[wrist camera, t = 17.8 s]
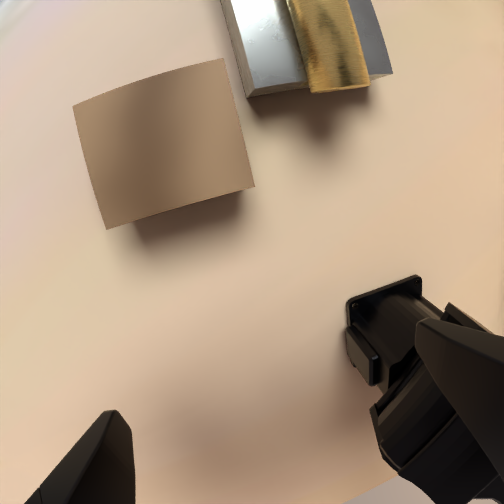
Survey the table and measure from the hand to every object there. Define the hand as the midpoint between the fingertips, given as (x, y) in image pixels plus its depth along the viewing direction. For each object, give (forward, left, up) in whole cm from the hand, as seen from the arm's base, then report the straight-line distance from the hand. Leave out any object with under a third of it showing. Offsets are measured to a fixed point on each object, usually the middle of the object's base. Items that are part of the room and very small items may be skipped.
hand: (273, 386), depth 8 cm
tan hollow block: (+2, -7, -12) cm, 14 cm away
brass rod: (-7, -13, -9) cm, 18 cm away
